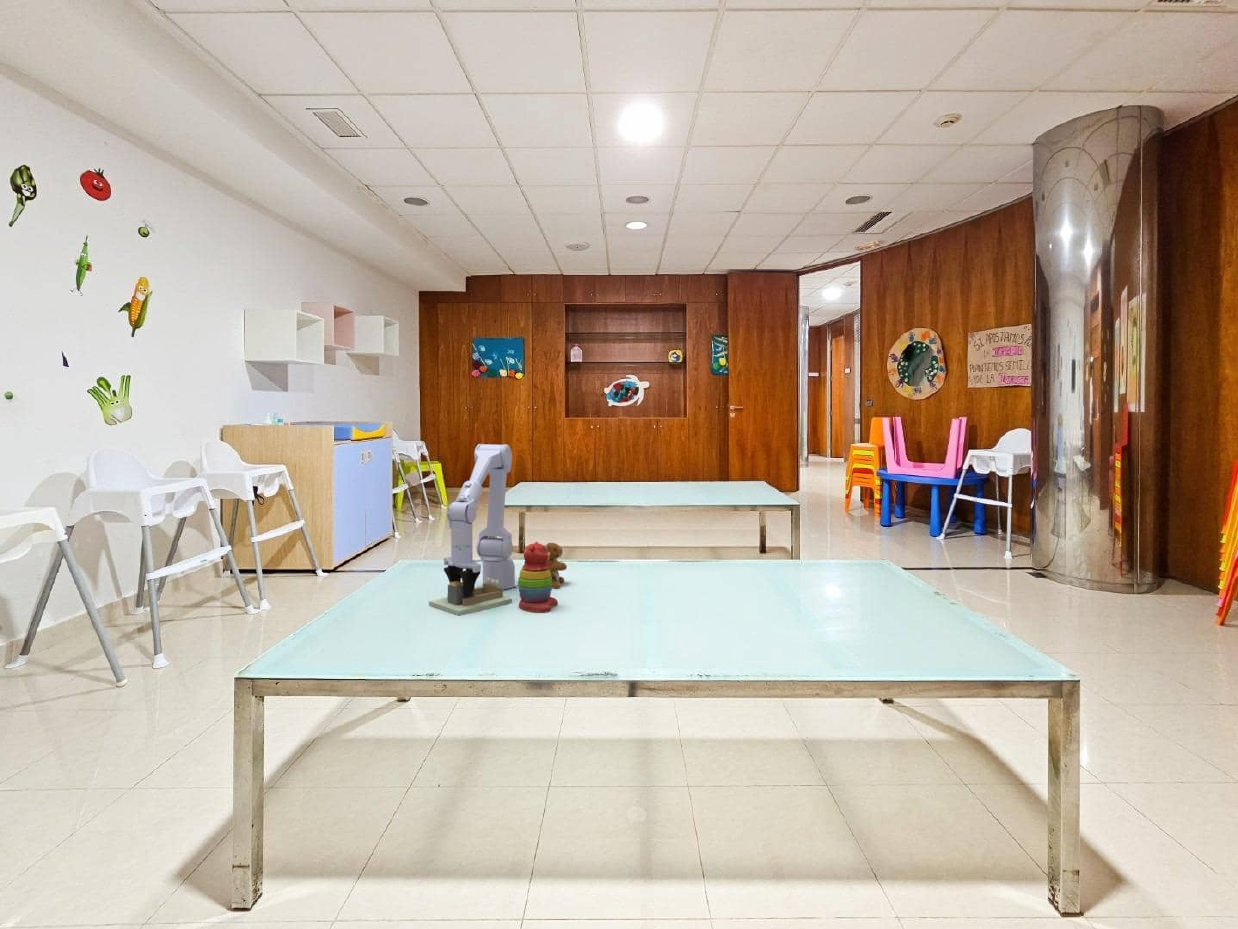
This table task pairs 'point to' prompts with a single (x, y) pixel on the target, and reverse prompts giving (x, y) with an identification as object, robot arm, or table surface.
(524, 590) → the stacking bear
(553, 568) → the brown teddy bear
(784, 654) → the table surface
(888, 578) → the table surface
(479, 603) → the board
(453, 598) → the plug block
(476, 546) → the robot arm
